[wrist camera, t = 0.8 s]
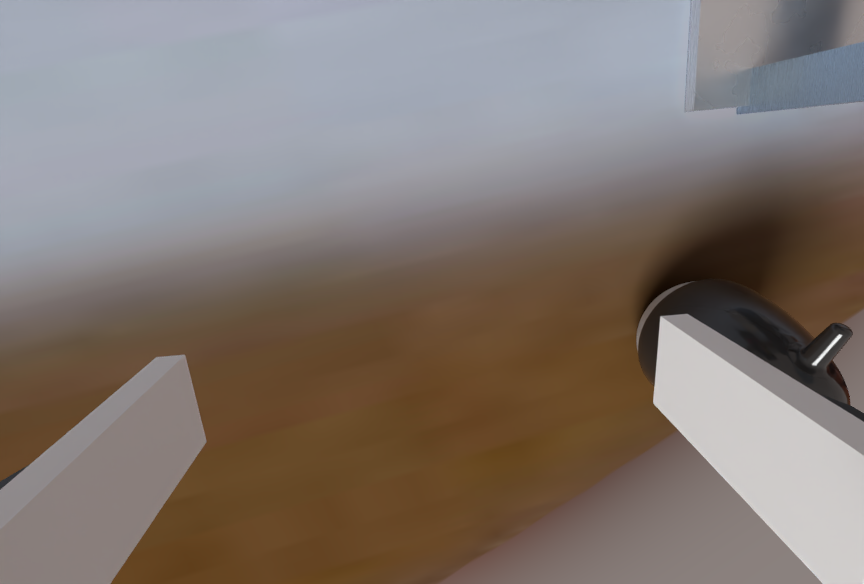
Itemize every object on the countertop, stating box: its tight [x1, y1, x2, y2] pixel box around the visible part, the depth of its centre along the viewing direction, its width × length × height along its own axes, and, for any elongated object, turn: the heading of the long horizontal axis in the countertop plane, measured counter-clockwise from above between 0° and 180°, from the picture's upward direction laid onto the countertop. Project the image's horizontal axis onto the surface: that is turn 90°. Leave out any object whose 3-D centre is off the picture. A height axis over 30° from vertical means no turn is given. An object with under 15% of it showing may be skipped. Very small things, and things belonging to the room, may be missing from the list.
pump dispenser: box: [636, 279, 853, 406], centre depth 33 cm, size 10×10×15 cm
